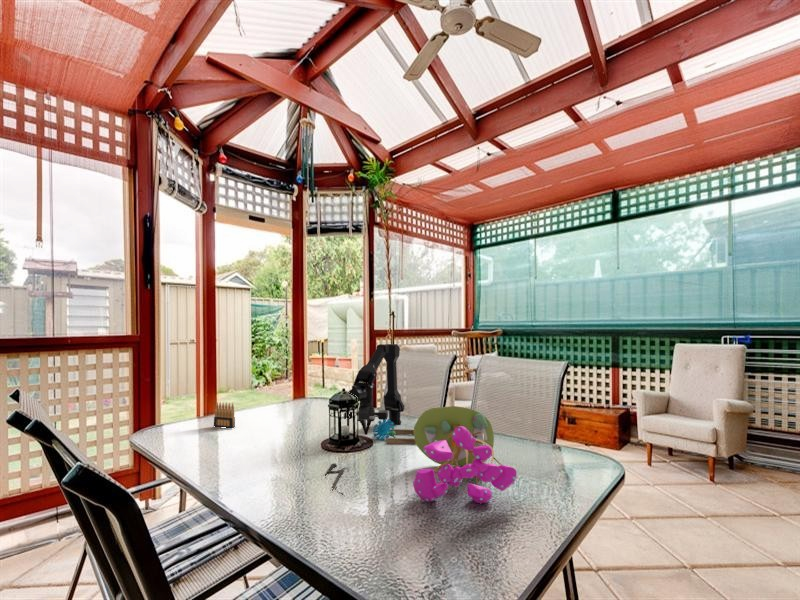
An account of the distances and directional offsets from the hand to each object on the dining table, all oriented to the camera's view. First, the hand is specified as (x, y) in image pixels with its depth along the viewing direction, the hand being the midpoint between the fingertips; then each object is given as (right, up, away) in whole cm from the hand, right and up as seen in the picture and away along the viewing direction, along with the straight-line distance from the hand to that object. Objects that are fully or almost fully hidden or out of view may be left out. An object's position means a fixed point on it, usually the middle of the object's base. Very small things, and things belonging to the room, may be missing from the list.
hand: (366, 434), depth 163 cm
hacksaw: (-6, +1, -44) cm, 44 cm away
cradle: (+19, -1, -1) cm, 19 cm away
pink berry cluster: (+33, +1, -50) cm, 60 cm away
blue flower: (+8, -2, 0) cm, 8 cm away
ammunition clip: (-70, -3, +16) cm, 71 cm away
